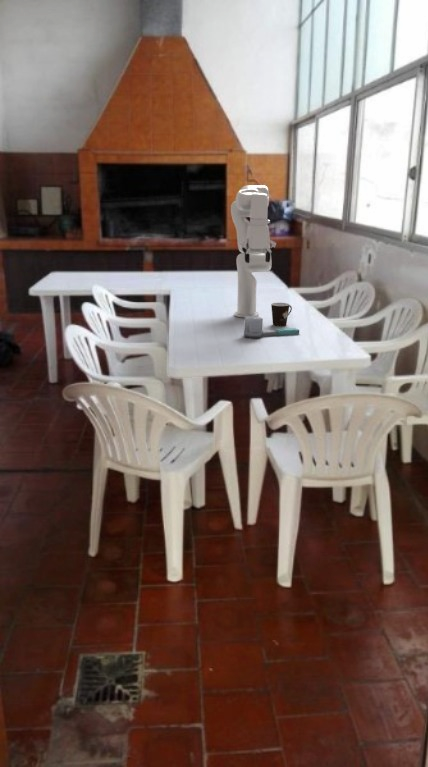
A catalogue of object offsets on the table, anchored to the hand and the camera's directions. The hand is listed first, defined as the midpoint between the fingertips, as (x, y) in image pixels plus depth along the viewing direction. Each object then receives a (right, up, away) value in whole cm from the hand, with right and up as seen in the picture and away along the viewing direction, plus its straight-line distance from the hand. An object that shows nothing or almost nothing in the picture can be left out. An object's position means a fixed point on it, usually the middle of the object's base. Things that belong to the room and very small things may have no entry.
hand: (257, 262), depth 264 cm
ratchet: (+6, -33, -4) cm, 34 cm away
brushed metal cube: (-2, -32, -7) cm, 32 cm away
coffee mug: (+13, -27, +17) cm, 34 cm away
